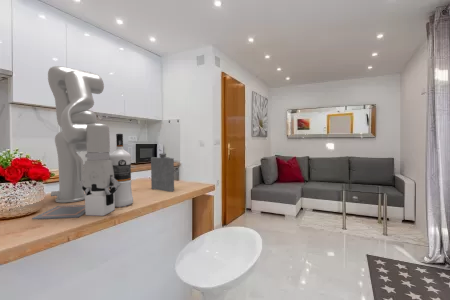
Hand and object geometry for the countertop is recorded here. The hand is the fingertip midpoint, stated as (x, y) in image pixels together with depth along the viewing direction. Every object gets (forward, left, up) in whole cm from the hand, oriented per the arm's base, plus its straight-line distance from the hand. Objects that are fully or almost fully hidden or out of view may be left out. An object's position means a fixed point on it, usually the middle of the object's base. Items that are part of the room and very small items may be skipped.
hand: (100, 203), depth 86 cm
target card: (-13, +3, -3) cm, 14 cm away
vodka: (+4, +11, -4) cm, 12 cm away
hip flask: (+18, +38, -4) cm, 42 cm away
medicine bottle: (0, 0, -4) cm, 4 cm away
